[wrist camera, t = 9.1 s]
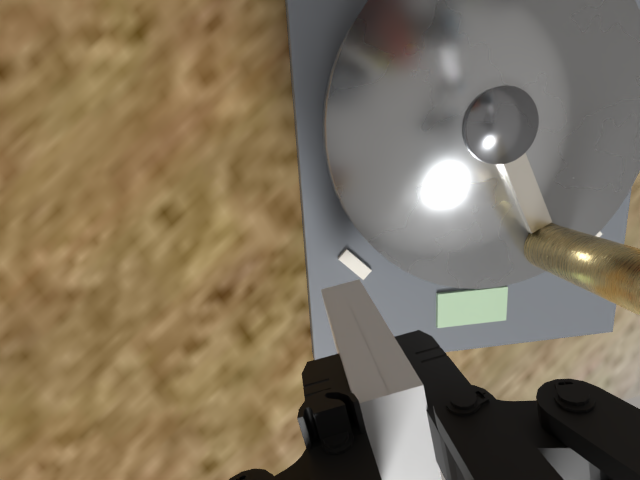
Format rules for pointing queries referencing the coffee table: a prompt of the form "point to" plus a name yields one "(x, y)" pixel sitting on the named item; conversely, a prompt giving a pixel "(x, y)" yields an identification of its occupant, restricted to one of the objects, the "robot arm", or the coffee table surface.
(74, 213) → the coffee table surface
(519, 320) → the record turntable
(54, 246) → the coffee table surface
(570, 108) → the crank wheel
